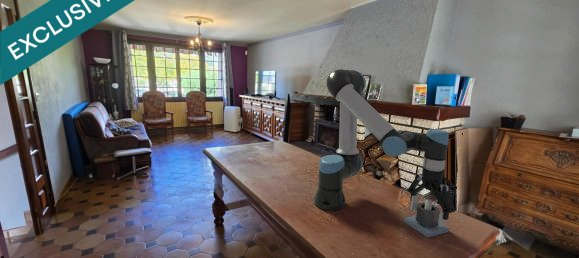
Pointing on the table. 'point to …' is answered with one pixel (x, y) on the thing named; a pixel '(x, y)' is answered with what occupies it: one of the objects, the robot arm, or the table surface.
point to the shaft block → (425, 229)
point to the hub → (427, 215)
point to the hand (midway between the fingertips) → (426, 217)
